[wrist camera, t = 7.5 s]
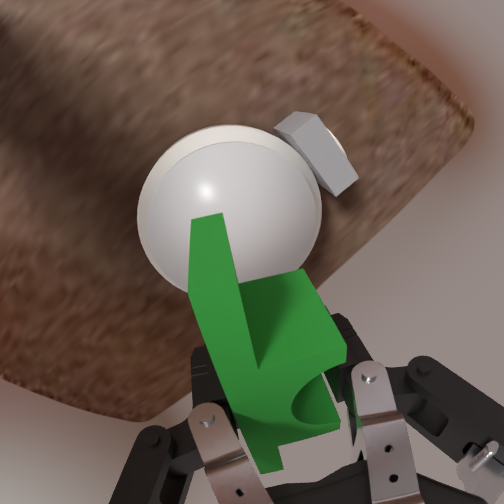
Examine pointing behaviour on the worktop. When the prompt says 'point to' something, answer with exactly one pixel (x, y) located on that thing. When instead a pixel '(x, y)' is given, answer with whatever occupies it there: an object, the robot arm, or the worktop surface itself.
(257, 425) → the pipe clamp
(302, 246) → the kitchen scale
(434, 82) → the worktop surface
